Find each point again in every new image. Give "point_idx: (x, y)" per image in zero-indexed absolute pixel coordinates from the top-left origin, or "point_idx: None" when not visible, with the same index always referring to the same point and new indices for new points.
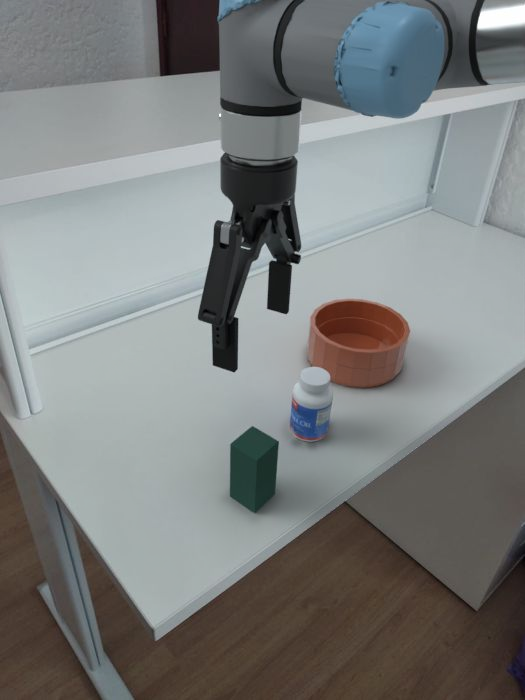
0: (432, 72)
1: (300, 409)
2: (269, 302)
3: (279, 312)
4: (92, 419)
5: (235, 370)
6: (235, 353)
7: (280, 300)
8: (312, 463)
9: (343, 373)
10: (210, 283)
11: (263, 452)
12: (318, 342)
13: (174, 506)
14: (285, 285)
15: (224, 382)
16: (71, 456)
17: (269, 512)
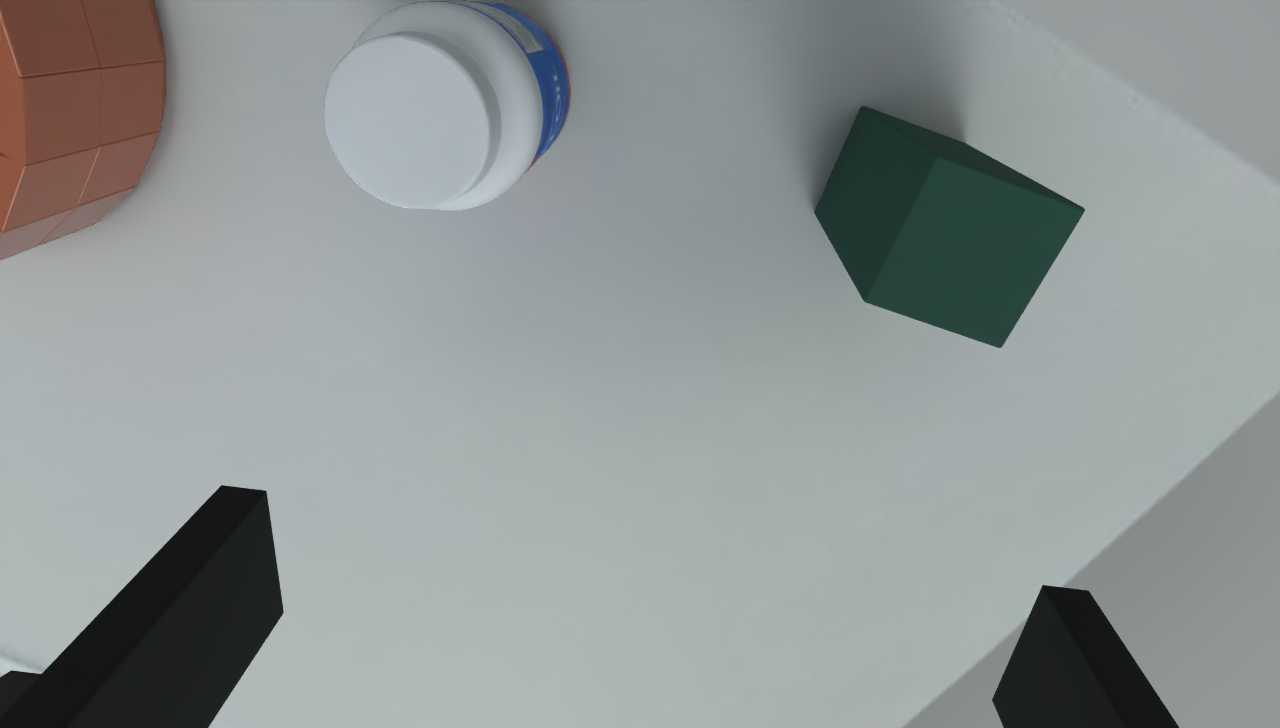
0: None
1: (544, 138)
2: (250, 643)
3: (271, 535)
4: (731, 686)
5: (1080, 595)
6: (1157, 714)
7: (215, 610)
8: (667, 13)
9: (121, 27)
10: None
11: (1030, 199)
12: (40, 201)
13: (988, 383)
14: (103, 714)
15: (409, 447)
16: (876, 671)
17: (949, 96)
